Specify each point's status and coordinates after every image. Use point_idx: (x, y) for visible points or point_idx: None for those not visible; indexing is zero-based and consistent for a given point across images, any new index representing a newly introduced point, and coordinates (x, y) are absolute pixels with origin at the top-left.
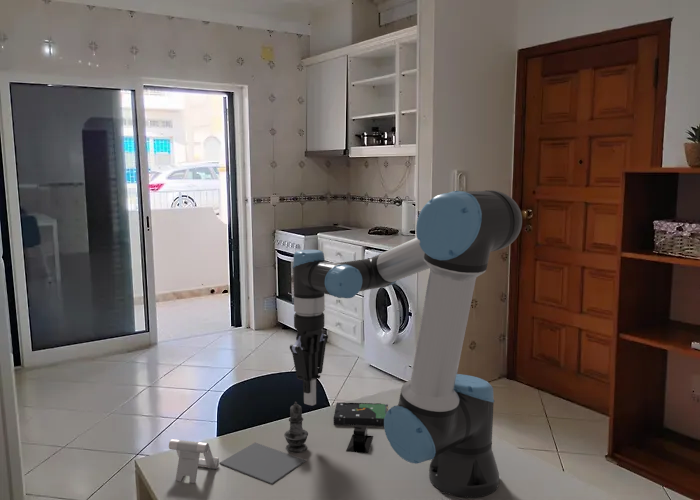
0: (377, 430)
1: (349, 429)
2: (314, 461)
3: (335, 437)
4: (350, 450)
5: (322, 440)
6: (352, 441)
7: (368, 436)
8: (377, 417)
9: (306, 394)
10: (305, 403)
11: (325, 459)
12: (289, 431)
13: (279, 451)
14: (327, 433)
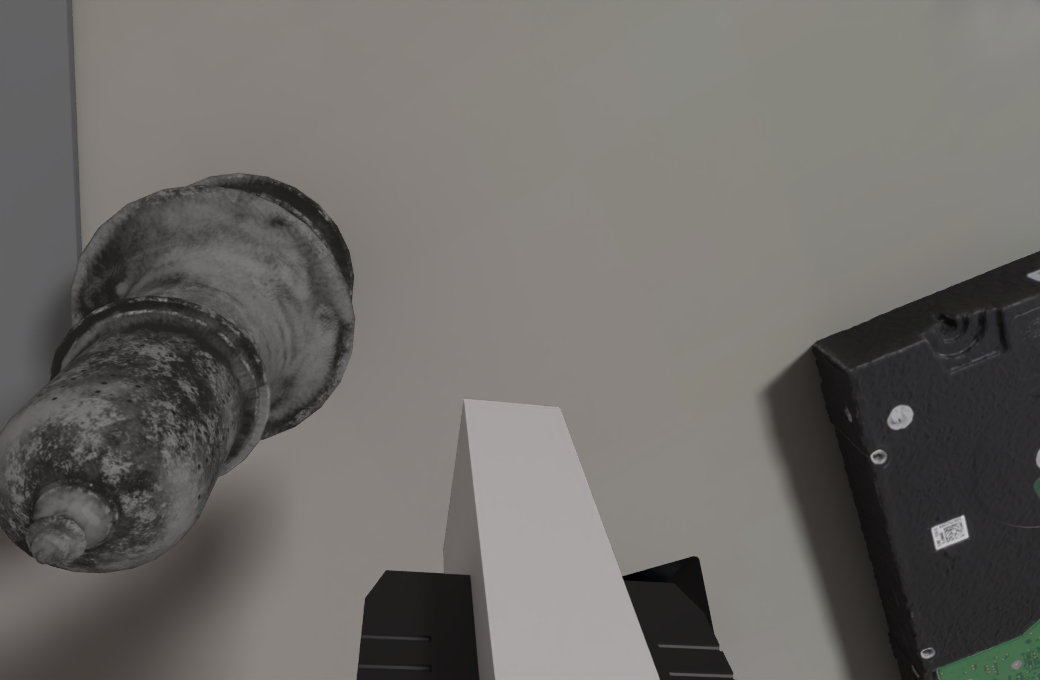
0: (818, 668)
1: (767, 497)
2: None
3: (588, 471)
4: None
5: None
6: None
7: None
8: (949, 673)
9: (462, 545)
10: (461, 428)
11: (214, 578)
12: (132, 284)
13: (64, 186)
14: (630, 379)
